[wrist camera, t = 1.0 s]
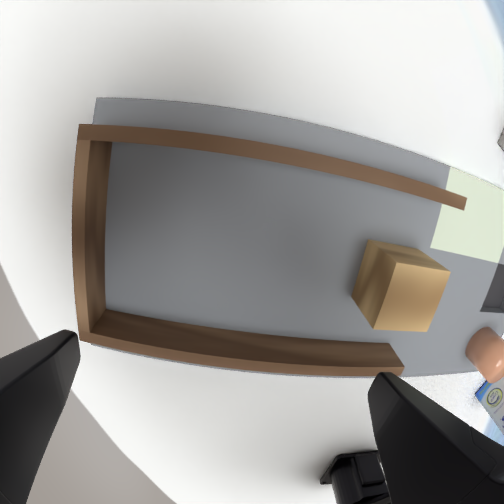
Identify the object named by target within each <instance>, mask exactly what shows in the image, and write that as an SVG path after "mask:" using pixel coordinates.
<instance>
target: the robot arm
mask: <svg viewBox="0 0 504 504" xmlns="http://www.w3.org/2000/svg"><path fill="white" fill-rule="evenodd" d="M79 362H80V348H79V341H78V336H77V334H76V333H75V332H73V331H69V330H61V331H59V332H57V333H55V334H53V335H50V336H48V337H46V338H44V339H42V340H39V341H37V342H35V343H33V344H31V345H28V346H26V347H24V348H22V349H20V350H18V351H15V352H13V353H11V354H9V355H7V356H4V357H2V358H0V504H26V502H27V499H28V496H29V493H30V490H31V487H32V484H33V482H34V479H35V476H36V473H37V471H38V468H39V465H40V463H41V460H42V458H43V455H44V453H45V450H46V447H47V445H48V443H49V440H50V438H51V436H52V433H53V431H54V429H55V426H56V424H57V422H58V419H59V417H60V415H61V413H62V410H63V408H64V406H65V403H66V400H67V398H68V394H69V392H70V389H71V386H72V383H73V380H74V377H75V374H76V371H77V368H78V365H79ZM368 402H369V408H370V414H371V420H372V426H373V432H374V437H375V441H376V445H377V449H378V451H376V452H367V453H358V454H347V455H339V456H337V457H336V458H335V460H334V461H333V463H332V464H331V466H330V467H329V468H328V470H327V471H326V473H325V474H324V476H323V477H322V478H321V480H320V484H332V486H333V490H334V494H335V498H336V503H337V504H504V446H502V445H500V444H498V443H497V442H495V441H493V440H491V439H490V438H488V437H487V436H485V435H483V434H482V433H480V432H479V431H477V430H476V429H474V428H473V427H471V426H469V425H468V424H467V423H465V422H464V421H462V420H461V419H459V418H458V417H456V416H455V415H453V414H452V413H450V412H449V411H447V410H446V409H444V408H443V407H441V406H440V405H439V404H437V403H436V402H434V401H433V400H431V399H430V398H428V397H427V396H425V395H424V394H422V393H421V392H420V391H418V390H417V389H415V388H414V387H412V386H411V385H409V384H408V383H406V382H405V381H404V380H402V379H401V378H399V377H398V376H396V375H395V374H393V373H392V372H379V373H378V374H377V375H376V377H375V379H374V381H373V383H372V385H371V387H370V389H369V391H368ZM380 462H381V463H382V467H383V470H382V468H381V465H380ZM383 471H384V473H383ZM385 480H386V481H385ZM386 483H387V484H386Z"/></svg>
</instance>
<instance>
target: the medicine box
mask: <svg viewBox="0 0 504 504" xmlns="http://www.w3.org/2000/svg"><path fill="white" fill-rule="evenodd" d="M475 396H476V397H477V399H478V400H479V401H480V403H481V404H482V405H483V407H484V408H485V409H486V411H487V412H488V414H489V415H490V416H491V418H492V419H493V420H494V422H495V423H496V425H497V426H498V428H499V429H500V430H501V432H502V433H503V435H504V377H503V378H501V379H500V380H499V381H497V382H495V383H489V382H488V381H486V382H485V383H484V385H483V386H482V387H481V388H480V389H479V390H478V391H477V393H476V394H475Z"/></svg>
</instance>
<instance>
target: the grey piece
mask: <svg viewBox="0 0 504 504" xmlns="http://www.w3.org/2000/svg"><path fill="white" fill-rule="evenodd" d="M498 143H499V145H500V146H501V147H502V149H503V150H504V130H503V132H502V135H501V136H500V139H499V141H498Z"/></svg>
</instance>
